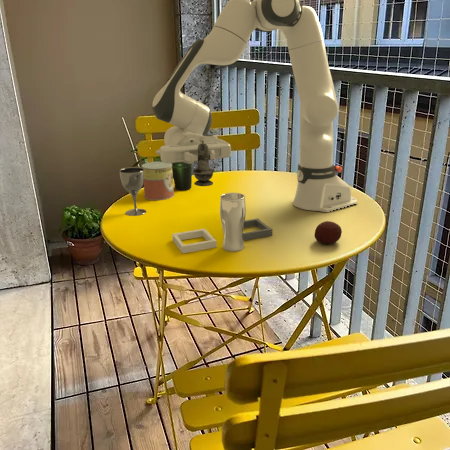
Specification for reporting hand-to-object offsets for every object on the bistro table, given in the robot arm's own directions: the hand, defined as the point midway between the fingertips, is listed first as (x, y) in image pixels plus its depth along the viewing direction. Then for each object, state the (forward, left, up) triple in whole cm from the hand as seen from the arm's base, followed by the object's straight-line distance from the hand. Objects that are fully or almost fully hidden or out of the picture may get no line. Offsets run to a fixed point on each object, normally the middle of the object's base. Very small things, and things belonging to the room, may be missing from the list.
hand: (204, 158), depth 122 cm
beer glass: (-5, +7, -25) cm, 26 cm away
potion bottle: (-9, -54, -25) cm, 60 cm away
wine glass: (+14, -34, -25) cm, 45 cm away
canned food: (+2, -49, -25) cm, 55 cm away
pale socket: (+4, 0, -25) cm, 25 cm away
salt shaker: (0, -1, -8) cm, 8 cm away
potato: (-31, +15, -25) cm, 42 cm away
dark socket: (-14, -1, -25) cm, 28 cm away
